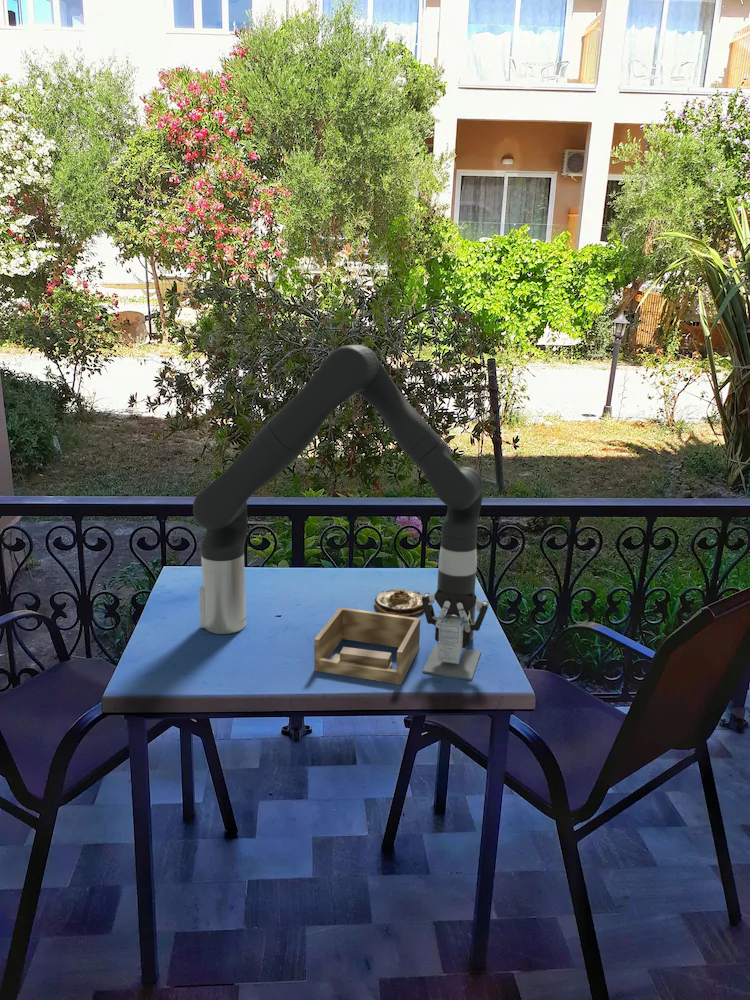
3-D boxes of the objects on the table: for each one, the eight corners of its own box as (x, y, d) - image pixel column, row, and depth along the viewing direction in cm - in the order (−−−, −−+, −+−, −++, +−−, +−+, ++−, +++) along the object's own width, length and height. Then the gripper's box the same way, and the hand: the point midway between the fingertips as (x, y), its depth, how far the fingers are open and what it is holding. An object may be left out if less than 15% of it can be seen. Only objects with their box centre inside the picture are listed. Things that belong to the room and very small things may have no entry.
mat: (422, 672, 162) (422, 670, 162) (434, 646, 173) (434, 644, 173) (471, 680, 160) (471, 678, 159) (480, 653, 171) (481, 651, 171)
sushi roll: (426, 624, 184) (426, 607, 183) (363, 616, 188) (363, 600, 187) (436, 598, 198) (437, 583, 197) (377, 592, 201) (378, 576, 200)
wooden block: (330, 669, 163) (330, 651, 161) (336, 661, 166) (336, 644, 164) (388, 678, 160) (388, 660, 158) (392, 670, 163) (392, 653, 161)
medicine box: (458, 665, 162) (461, 626, 159) (437, 661, 163) (439, 622, 160) (466, 648, 169) (468, 610, 166) (445, 644, 170) (447, 607, 168)
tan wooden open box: (314, 670, 162) (314, 639, 160) (339, 636, 177) (339, 607, 175) (400, 684, 157) (401, 652, 155) (419, 648, 172) (420, 618, 170)
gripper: (418, 569, 159) (414, 647, 164) (490, 578, 155) (484, 658, 160) (426, 556, 166) (422, 631, 171) (495, 565, 162) (490, 641, 167)
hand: (452, 644), depth 165 cm, fingers closed on medicine box, 4 cm apart
